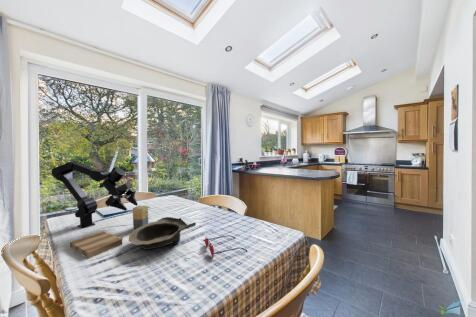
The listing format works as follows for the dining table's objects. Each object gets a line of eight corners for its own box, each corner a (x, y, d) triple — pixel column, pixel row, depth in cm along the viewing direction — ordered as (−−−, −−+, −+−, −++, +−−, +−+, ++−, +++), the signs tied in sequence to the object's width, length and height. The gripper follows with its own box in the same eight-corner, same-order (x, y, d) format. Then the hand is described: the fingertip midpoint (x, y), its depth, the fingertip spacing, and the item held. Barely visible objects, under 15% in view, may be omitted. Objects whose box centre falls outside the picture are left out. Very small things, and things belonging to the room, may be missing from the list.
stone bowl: (195, 235, 105) (194, 218, 103) (163, 266, 81) (161, 244, 80) (156, 228, 113) (154, 212, 112) (116, 254, 89) (113, 235, 88)
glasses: (203, 245, 95) (202, 235, 95) (235, 238, 102) (235, 228, 102) (211, 260, 83) (211, 248, 82) (248, 252, 89) (248, 240, 89)
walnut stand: (69, 247, 94) (69, 241, 94) (102, 235, 106) (102, 230, 105) (88, 258, 84) (88, 252, 84) (122, 244, 96) (122, 239, 96)
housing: (133, 229, 113) (132, 208, 112) (139, 225, 118) (138, 205, 117) (142, 230, 112) (142, 208, 111) (148, 226, 117) (147, 205, 117)
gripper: (109, 180, 105) (130, 202, 105) (132, 175, 124) (150, 193, 123) (96, 195, 107) (116, 217, 106) (121, 188, 125) (138, 206, 125)
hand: (131, 207), depth 115 cm, fingers open, 9 cm apart
